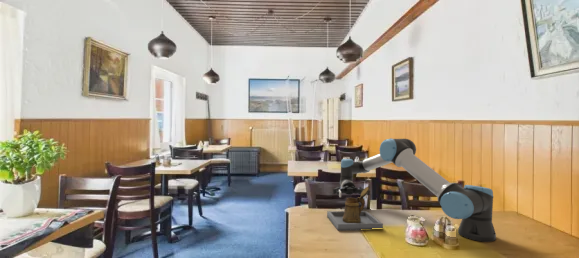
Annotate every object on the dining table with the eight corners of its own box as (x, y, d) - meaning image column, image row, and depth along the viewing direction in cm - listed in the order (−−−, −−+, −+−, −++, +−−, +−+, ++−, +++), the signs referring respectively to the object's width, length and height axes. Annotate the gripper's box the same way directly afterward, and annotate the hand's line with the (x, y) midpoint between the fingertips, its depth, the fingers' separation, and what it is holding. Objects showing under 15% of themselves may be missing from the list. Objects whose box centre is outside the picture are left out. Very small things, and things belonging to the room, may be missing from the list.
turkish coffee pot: (371, 223, 161) (372, 187, 161) (344, 223, 160) (345, 187, 160) (366, 218, 170) (367, 184, 170) (340, 218, 169) (341, 183, 169)
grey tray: (382, 230, 155) (382, 223, 155) (337, 230, 153) (338, 224, 153) (366, 216, 177) (366, 210, 177) (327, 216, 175) (327, 211, 175)
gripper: (369, 194, 194) (376, 203, 173) (327, 192, 195) (329, 201, 174) (369, 181, 194) (377, 189, 173) (327, 180, 195) (330, 187, 174)
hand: (353, 195), depth 173 cm, fingers open, 13 cm apart
